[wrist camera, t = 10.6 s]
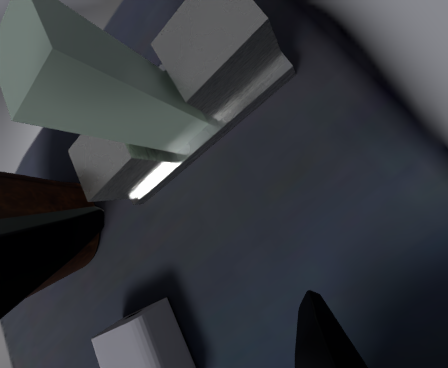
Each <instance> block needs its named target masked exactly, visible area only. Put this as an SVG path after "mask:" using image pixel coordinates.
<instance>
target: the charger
mask: <svg viewBox="0 0 448 368" xmlns="http://www.w3.org/2000/svg"><path fill="white" fill-rule="evenodd" d="M141 310H142V309H141ZM138 311H140V310H138ZM138 311H136V312H138ZM136 312H134V313H136ZM134 313H132V314H134ZM132 314H130V315H132ZM130 315H128V316H130ZM128 316H126V317H128ZM126 317H124V318H122V319H121V320H119V321H117V322H116V323H114V324H113V325H111V326H110V327H108V328H106V329H105V330H103V331H102V332H100V333H99V334H97V335H96V336H94V337H93V338H91V340H92V343H93V346H94V349H95V353H96V356H97V359H98V362H99V365H100V368H196V367H195V364H194V362H193V360H192V357H191V355H190V352H189V350H188V347H187V345H186V343H185V340H184V338H183V335H182V333H181V330H180V328H179V326H178V323H177V321H176V318H175V316H174V313H173V311H172V309H171V306H170V304H169V301H168V299H167V297H166V298H164V299H162V300H159V301H157V302H155V303H153V304H151V305H149V306H147V307H145V309H144V308H143V310H142V311H140V312H139V313H137V314H135V315H133V316H131V317H129V318H127V319H125V318H126Z"/></svg>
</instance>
